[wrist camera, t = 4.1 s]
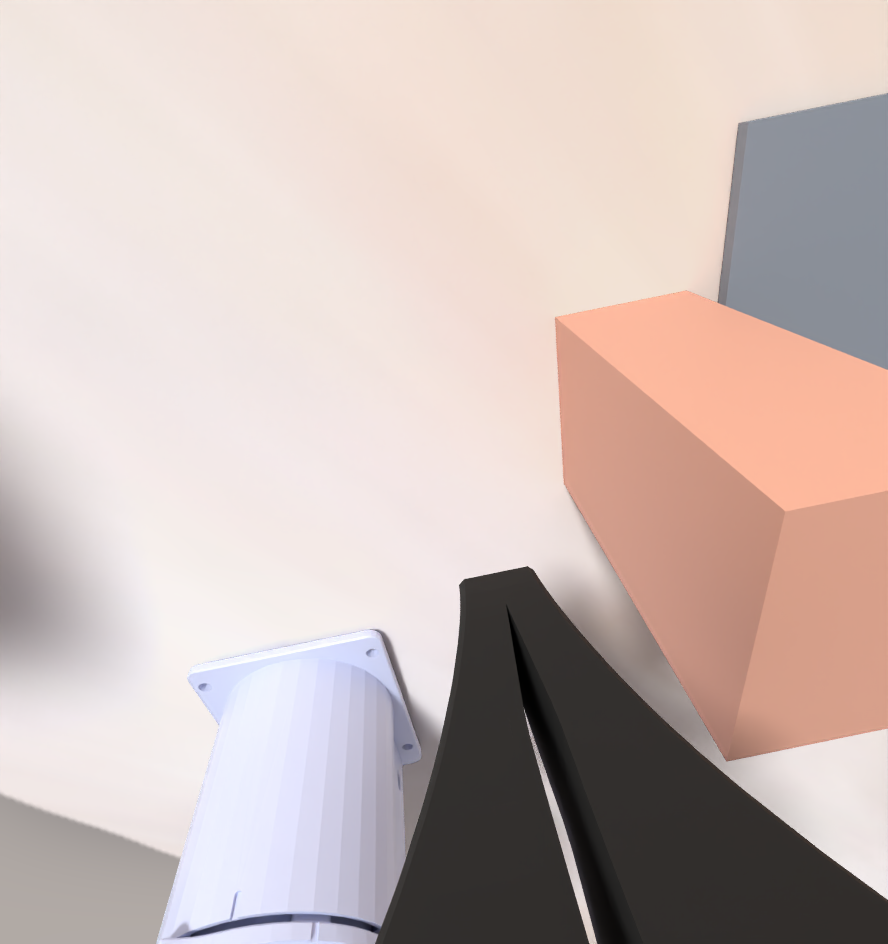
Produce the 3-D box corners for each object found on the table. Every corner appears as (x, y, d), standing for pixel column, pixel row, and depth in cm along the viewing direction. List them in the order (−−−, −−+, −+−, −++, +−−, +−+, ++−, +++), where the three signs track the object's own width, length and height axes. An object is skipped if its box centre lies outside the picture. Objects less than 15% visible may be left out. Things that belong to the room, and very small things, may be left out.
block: (672, 461, 18) (931, 719, 10) (563, 483, 18) (726, 761, 10) (686, 290, 15) (1089, 449, 6) (555, 317, 15) (785, 511, 6)
